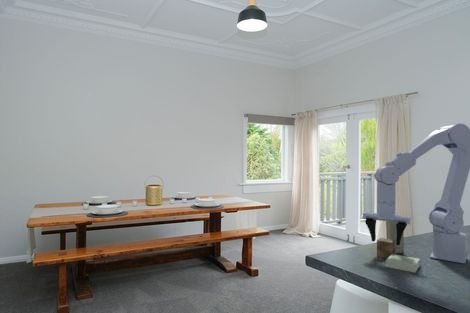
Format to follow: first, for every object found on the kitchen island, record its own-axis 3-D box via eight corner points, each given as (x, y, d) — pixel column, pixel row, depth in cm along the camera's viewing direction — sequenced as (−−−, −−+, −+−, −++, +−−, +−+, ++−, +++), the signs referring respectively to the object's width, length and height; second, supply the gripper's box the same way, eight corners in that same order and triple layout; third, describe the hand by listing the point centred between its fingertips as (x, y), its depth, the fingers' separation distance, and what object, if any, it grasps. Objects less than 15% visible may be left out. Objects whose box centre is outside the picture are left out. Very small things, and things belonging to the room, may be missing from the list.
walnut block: (394, 256, 109) (394, 239, 109) (391, 259, 105) (391, 242, 105) (380, 253, 112) (380, 237, 112) (376, 256, 108) (376, 240, 108)
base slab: (419, 265, 99) (419, 258, 99) (415, 272, 93) (415, 265, 93) (391, 260, 104) (391, 253, 104) (385, 266, 98) (385, 260, 98)
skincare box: (404, 254, 111) (404, 218, 111) (390, 253, 112) (390, 218, 112) (398, 248, 117) (398, 215, 117) (385, 248, 118) (385, 215, 118)
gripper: (360, 201, 110) (359, 241, 110) (407, 205, 101) (407, 249, 101) (366, 199, 115) (365, 237, 115) (411, 203, 107) (411, 244, 106)
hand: (385, 242), depth 108 cm, fingers open, 7 cm apart
